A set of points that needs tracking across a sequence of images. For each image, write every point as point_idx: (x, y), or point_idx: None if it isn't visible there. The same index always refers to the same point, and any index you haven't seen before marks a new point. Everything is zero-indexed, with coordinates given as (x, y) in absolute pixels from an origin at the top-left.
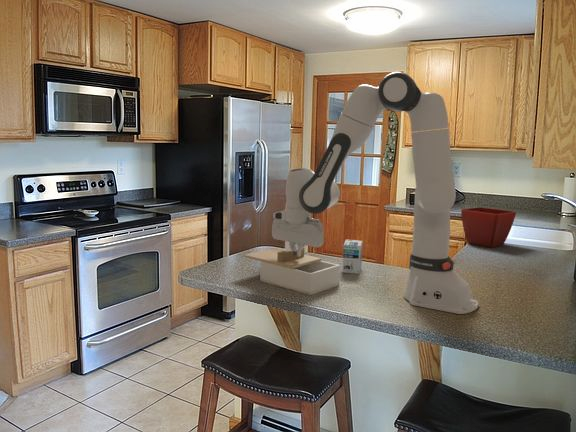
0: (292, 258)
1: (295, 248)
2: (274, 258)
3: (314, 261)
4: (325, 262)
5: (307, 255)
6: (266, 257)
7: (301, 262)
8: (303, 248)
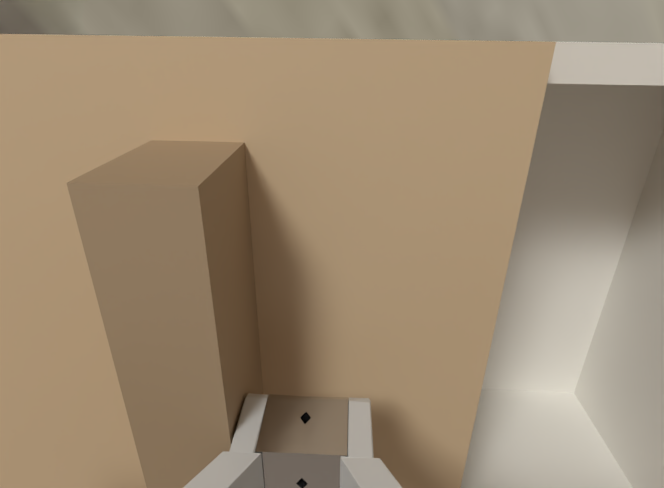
0: (260, 385)
1: (243, 482)
2: (111, 459)
3: (510, 222)
4: (650, 83)
5: (239, 46)
6: (32, 475)
7: (434, 412)
8: (203, 216)
